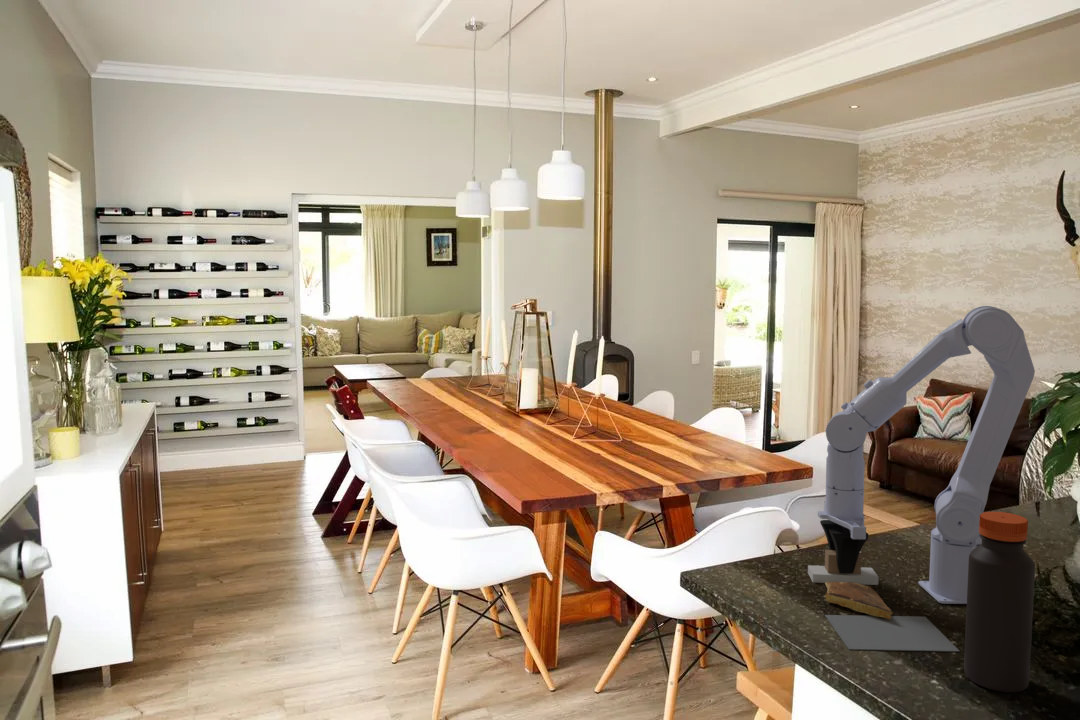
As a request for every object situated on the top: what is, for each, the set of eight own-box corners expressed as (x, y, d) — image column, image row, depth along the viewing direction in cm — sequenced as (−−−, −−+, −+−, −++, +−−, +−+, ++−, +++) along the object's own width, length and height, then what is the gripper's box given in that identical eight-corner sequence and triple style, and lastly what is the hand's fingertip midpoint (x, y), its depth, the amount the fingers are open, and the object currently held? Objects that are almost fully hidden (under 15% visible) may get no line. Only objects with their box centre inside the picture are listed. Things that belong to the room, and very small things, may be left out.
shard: (893, 622, 109) (893, 610, 109) (836, 620, 110) (837, 608, 110) (869, 593, 120) (869, 582, 120) (818, 592, 121) (818, 580, 120)
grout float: (871, 576, 127) (872, 549, 127) (878, 585, 123) (879, 558, 123) (807, 574, 129) (808, 547, 128) (812, 583, 125) (813, 556, 124)
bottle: (1000, 663, 97) (1008, 507, 95) (1042, 691, 91) (1052, 524, 89) (951, 667, 96) (957, 510, 95) (990, 696, 90) (998, 527, 88)
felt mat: (925, 617, 111) (925, 616, 111) (959, 651, 101) (959, 650, 101) (824, 615, 112) (824, 614, 112) (849, 649, 102) (849, 648, 102)
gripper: (806, 475, 132) (805, 553, 133) (833, 498, 117) (831, 585, 119) (849, 475, 131) (847, 553, 133) (881, 498, 117) (878, 586, 118)
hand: (842, 568), depth 126 cm, fingers open, 3 cm apart
